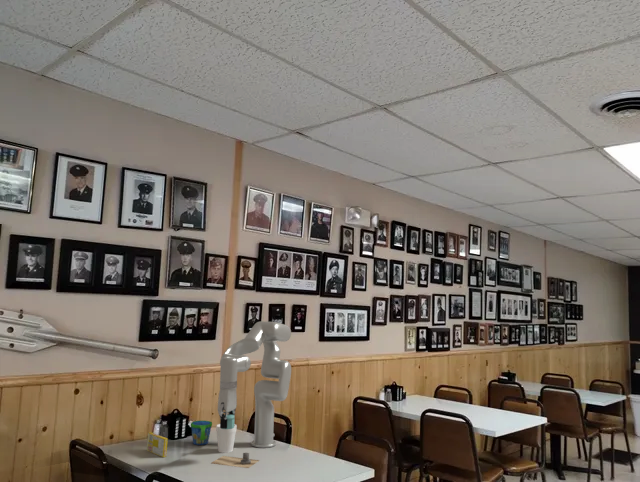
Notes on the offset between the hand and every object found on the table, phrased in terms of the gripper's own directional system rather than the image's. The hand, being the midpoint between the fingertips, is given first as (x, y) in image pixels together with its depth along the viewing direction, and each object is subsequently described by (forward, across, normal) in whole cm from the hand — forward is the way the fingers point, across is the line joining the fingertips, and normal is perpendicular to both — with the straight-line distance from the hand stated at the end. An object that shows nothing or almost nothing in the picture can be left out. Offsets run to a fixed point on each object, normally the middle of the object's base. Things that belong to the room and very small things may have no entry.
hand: (227, 425), depth 234 cm
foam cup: (+17, -13, -7) cm, 22 cm away
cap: (+1, 0, 0) cm, 1 cm away
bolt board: (+16, +1, +5) cm, 17 cm away
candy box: (+16, -2, -37) cm, 41 cm away
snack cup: (+17, -25, -27) cm, 41 cm away
